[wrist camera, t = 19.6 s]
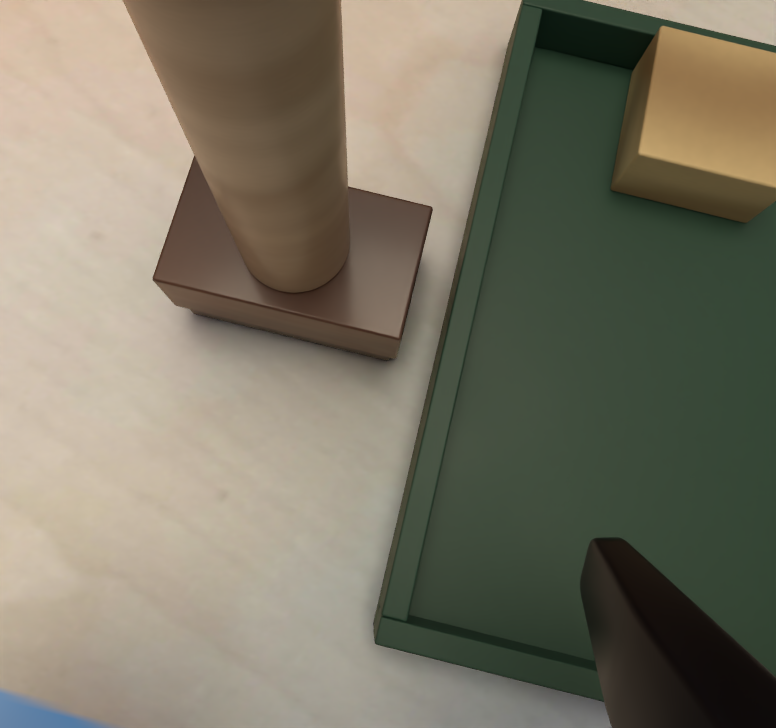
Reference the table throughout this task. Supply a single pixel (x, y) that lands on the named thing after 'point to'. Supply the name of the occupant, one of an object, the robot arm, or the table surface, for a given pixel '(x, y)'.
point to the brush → (276, 178)
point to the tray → (586, 383)
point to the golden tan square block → (700, 126)
